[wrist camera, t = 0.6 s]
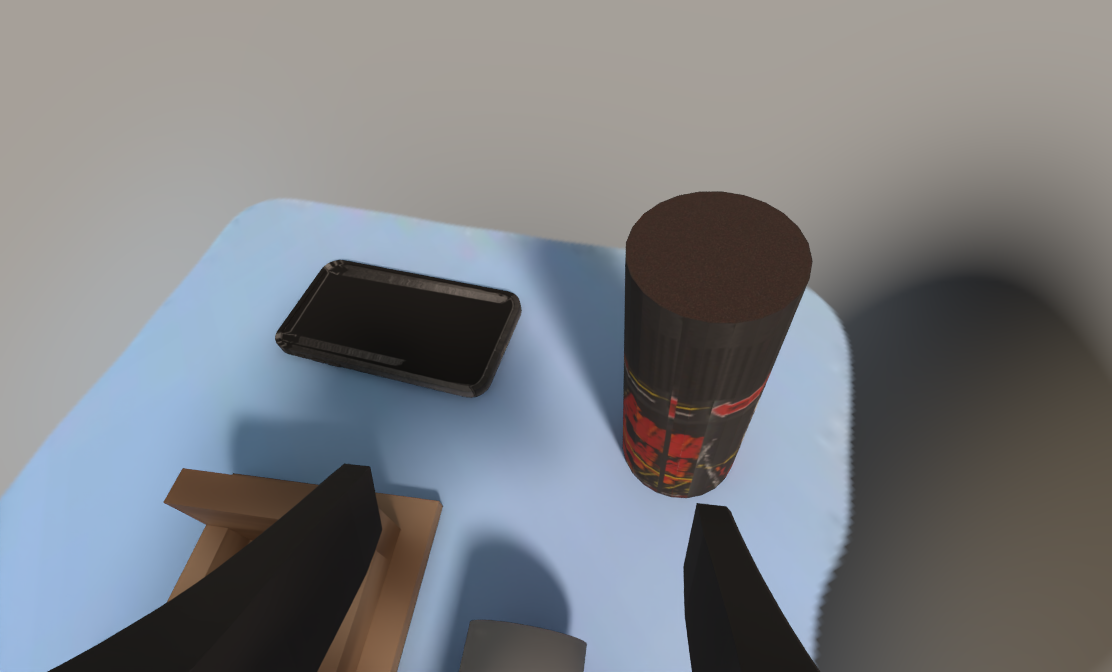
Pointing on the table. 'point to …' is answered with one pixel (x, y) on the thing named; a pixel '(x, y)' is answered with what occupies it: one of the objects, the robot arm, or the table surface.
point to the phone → (403, 326)
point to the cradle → (386, 592)
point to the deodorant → (703, 331)
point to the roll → (520, 649)
